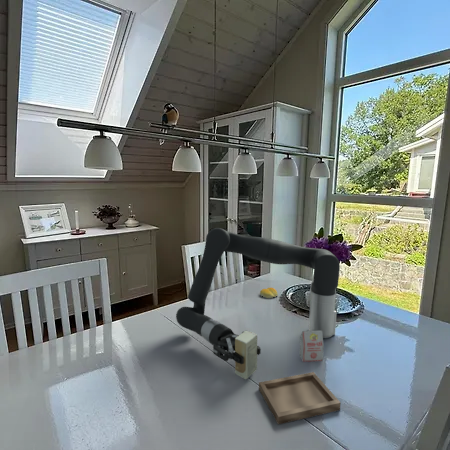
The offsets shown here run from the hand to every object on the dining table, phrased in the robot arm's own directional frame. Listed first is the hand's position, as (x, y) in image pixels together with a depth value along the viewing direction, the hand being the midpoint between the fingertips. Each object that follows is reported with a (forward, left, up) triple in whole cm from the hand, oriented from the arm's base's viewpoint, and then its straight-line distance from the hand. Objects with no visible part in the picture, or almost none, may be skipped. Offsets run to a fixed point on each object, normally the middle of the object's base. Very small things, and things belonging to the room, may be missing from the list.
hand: (251, 356), depth 89 cm
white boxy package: (-24, -5, -8) cm, 26 cm away
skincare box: (+1, -2, -7) cm, 7 cm away
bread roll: (-32, -59, -8) cm, 68 cm away
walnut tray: (-10, +11, -8) cm, 17 cm away
